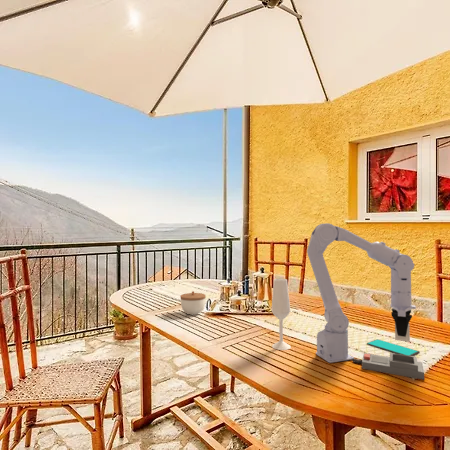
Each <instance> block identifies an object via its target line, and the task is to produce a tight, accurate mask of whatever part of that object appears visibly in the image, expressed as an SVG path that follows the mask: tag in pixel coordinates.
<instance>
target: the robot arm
mask: <svg viewBox="0 0 450 450" xmlns="http://www.w3.org/2000/svg"><path fill="white" fill-rule="evenodd" d="M334 241H337V242H346V243H348V244H350V245H352V246H355V247H356V248H359V249H360V250H363V251H365V252H366V254H367V256H368V258H370V259H372V260H374V261H376V262H379V263H380V264H382V265H385V267H386V266H387V267H389V268H390V307H391V313H390V314H391V318H393V322H394V325H395V324H396V329H397V334H398V336H404V337H406V333H407V328H408V324H409V325H410V321H411V319H413V316H412V314H411V313H412V310H416V309H417V306H416V305H413V304H412V271H413V270H414V268H415V263H414V260H413V259H412V257H411V256H410V255H408V254H403V253H400V252H401V251H400V250H399V249H396V248H395V249H394V248H391V247H389V246H388V245H386V244H387V243H386V242H384V241H380V242H379V241H373V242H370V241H368V240H366V239H365V238H363V237H361V236H359V235H358V234H355V233H353V232H351V231H350V230H348V229H345V228H343V227H341V226H340V227H339V226H337V225H334V224H332V223H327V222H326V223H320V224H318V225H317V226H315V228H314V229H313V230H312V232H311V235H310V239H309V242H308V246H307V249H306V253H307V257H308V259H309V262H310V265H311V268H312V273H313V275H314V278H315V281H316V284H317V287H318V290H319V293H320V296H321V299H322V304H323V307H324V314H323V315H324V319H325V321H326V323H325V325H324V329H322V330H320V331H318V332H317V335H316V352H315V354H316V356H319V357H320V358H322V359H323V360H325V361H326V362H328V363H329V364H330V363H331V364H332V363H337V362H344V361H349V360H351V361H353V359H355V357H354V356H352V355H350V354H349V332H348V331H349V330H348V328H349V326H350V325H349V323H350V321H349V318H348V316H347V315H346V314H345V313H344V312H343V309H342V306H341V304H340V303H339V300H338V298H337V294H336V291H335V288H334V285H333V282H332V279H331V276H330V273H329V272H330V271H329V270H328V266H327V263H326V260H325V257H324V252H325V251H326V250H327V248H328V246H329V245H331V244H332V243H333V242H334Z"/></svg>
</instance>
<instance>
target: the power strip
mask: <svg viewBox="0 0 450 450" xmlns="http://www.w3.org/2000/svg"><path fill="white" fill-rule="evenodd" d="M352 362H353V363H356V364H361V369H362V370H363V369H364V370H368V371H374V372H380V373H385V374H391V375H398V376H400V377H407V378H412V379H419V380H424V381H425V371H424V365H423V361H418V357H417V356H416V355H414V356H409V355H402V354H396V353H392V352H389V356H385V355H379V354H372V353H366V352H364V353H363V355H362V359H357V358H354V359H352Z"/></svg>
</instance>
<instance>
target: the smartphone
mask: <svg viewBox="0 0 450 450" xmlns="http://www.w3.org/2000/svg"><path fill="white" fill-rule="evenodd" d="M366 345H367V346H370V347H374V348H377V349H380V350H383V351H386V352H388V353H396V354H402V355H409V356H416V355H418V354H420V351H419V350H416V349H413V348H409V347H406V346H402V345H399V344H395V343H392V342H388V341H384V340H381V339H374V340H372V341H369V342H367V343H366Z"/></svg>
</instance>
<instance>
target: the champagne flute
mask: <svg viewBox="0 0 450 450" xmlns="http://www.w3.org/2000/svg"><path fill="white" fill-rule="evenodd" d="M272 288H273V289H272V299H271V312H272V314H273V315H274V316H275V318H277V319H278V320H279V321H278V322H279V328H278V329H279V341H277V342H274V343H273V344H272V346H271V347H272V348H273V349H274V350H279V351H286V350H290V349H291V345H290V344H288V343H287V342H285V341H284V337H283V336H284V333H283V332H284V330H283V329H284V328H283V327H284V324H283V321H284V319H286V318H287V317H288V316H289V315H290V312H291V304H290V303H291V302H290V296H289V295H290V294H289V286H288V279H286V278H274V279H273V286H272Z"/></svg>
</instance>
